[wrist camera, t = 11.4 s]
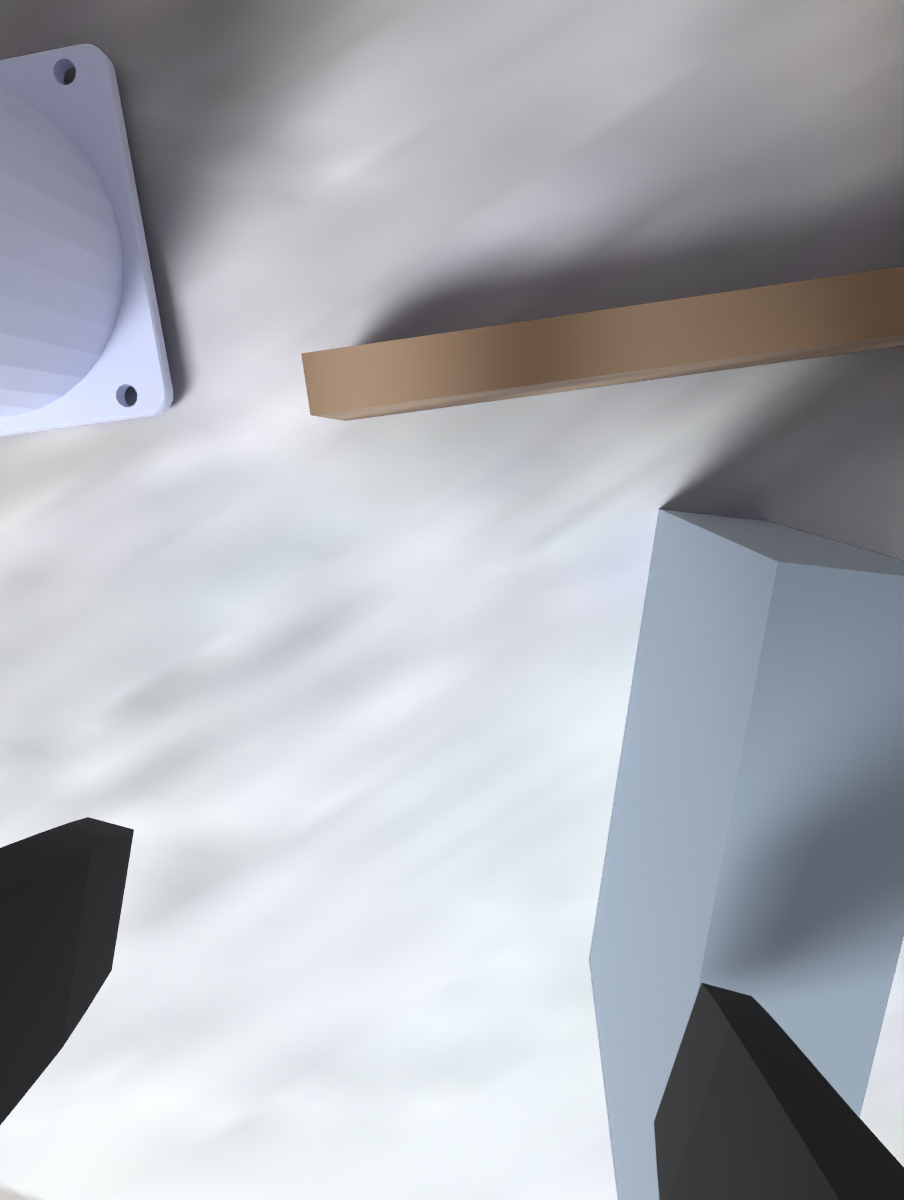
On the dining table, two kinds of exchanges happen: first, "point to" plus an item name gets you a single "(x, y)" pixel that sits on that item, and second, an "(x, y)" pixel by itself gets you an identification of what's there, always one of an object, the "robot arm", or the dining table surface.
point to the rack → (610, 346)
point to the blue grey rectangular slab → (752, 810)
